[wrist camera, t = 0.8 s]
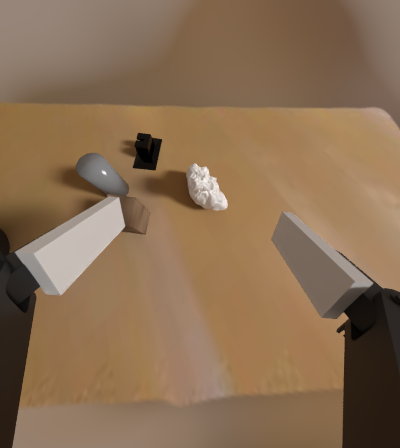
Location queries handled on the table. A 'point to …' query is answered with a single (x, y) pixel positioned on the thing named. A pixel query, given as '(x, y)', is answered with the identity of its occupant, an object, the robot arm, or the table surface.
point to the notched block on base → (146, 152)
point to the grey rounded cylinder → (101, 174)
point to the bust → (205, 188)
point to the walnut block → (133, 214)
